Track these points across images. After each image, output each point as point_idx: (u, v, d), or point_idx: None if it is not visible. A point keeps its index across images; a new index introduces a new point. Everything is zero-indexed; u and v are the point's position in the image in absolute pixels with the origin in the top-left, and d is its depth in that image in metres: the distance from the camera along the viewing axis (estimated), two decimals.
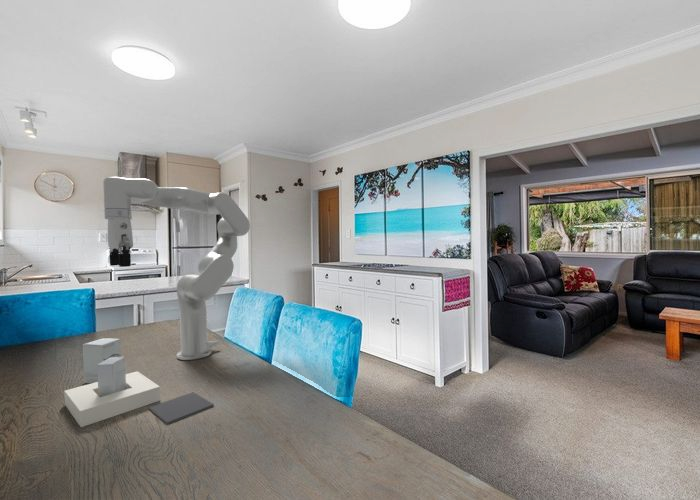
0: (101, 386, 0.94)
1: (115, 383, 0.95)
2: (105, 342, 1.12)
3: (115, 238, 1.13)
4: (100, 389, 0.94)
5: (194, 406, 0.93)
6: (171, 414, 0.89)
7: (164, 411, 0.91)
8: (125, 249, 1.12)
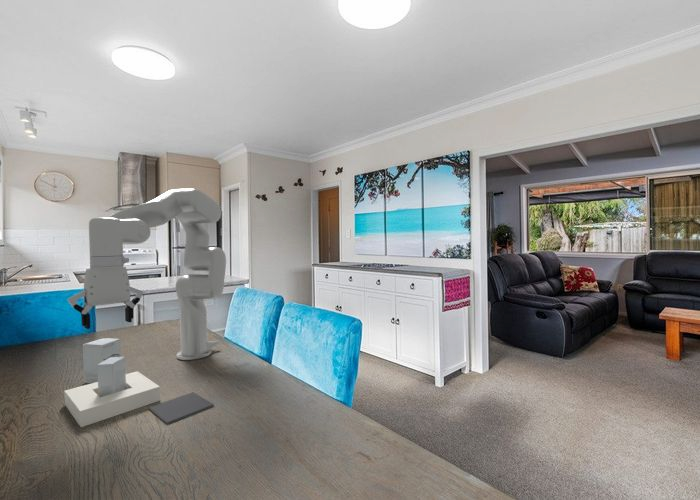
0: (101, 386, 0.94)
1: (115, 383, 0.95)
2: (105, 342, 1.12)
3: (126, 290, 0.97)
4: (100, 389, 0.94)
5: (194, 406, 0.93)
6: (171, 414, 0.89)
7: (164, 411, 0.91)
8: None
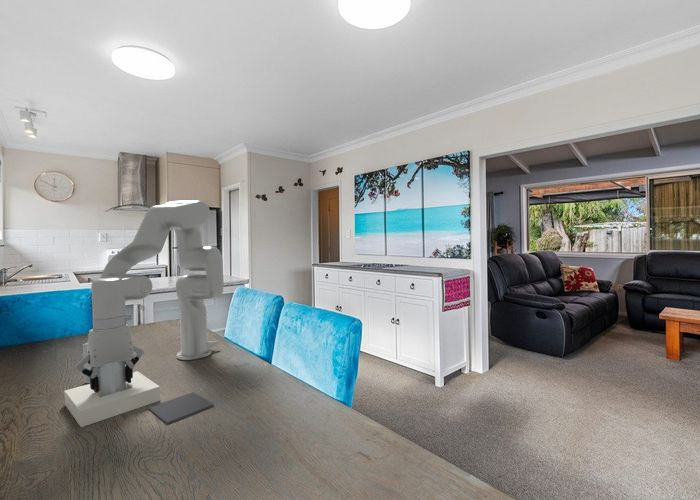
0: (100, 386, 0.94)
1: (115, 383, 0.95)
2: None
3: (129, 349, 0.98)
4: (100, 389, 0.94)
5: (194, 406, 0.93)
6: (171, 414, 0.89)
7: (164, 411, 0.91)
8: None
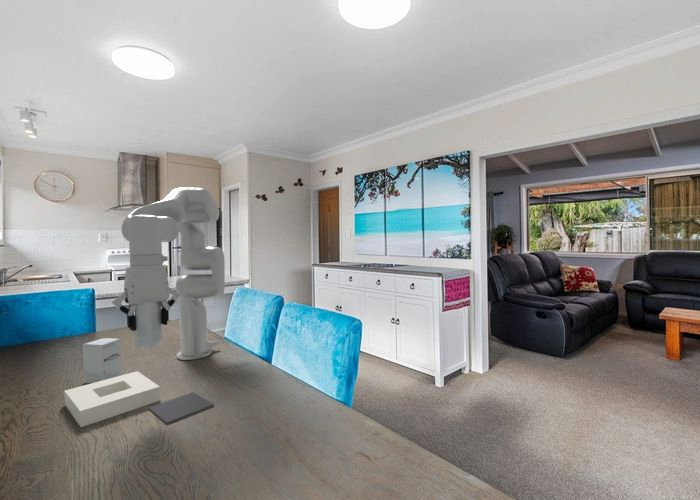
0: (137, 325, 0.91)
1: (152, 323, 0.92)
2: (105, 342, 1.12)
3: (165, 289, 0.95)
4: (137, 328, 0.91)
5: (194, 406, 0.93)
6: (171, 414, 0.89)
7: (164, 411, 0.91)
8: None
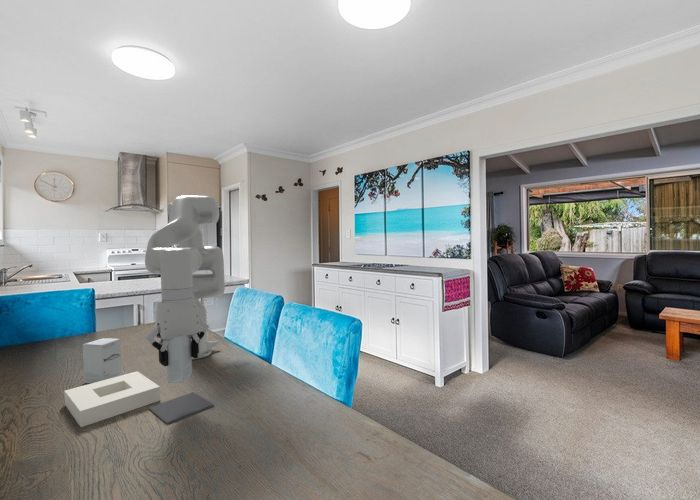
0: (170, 360, 0.90)
1: (184, 358, 0.91)
2: (105, 342, 1.12)
3: (196, 322, 0.94)
4: (169, 363, 0.90)
5: (194, 406, 0.93)
6: (171, 414, 0.89)
7: (164, 411, 0.91)
8: None
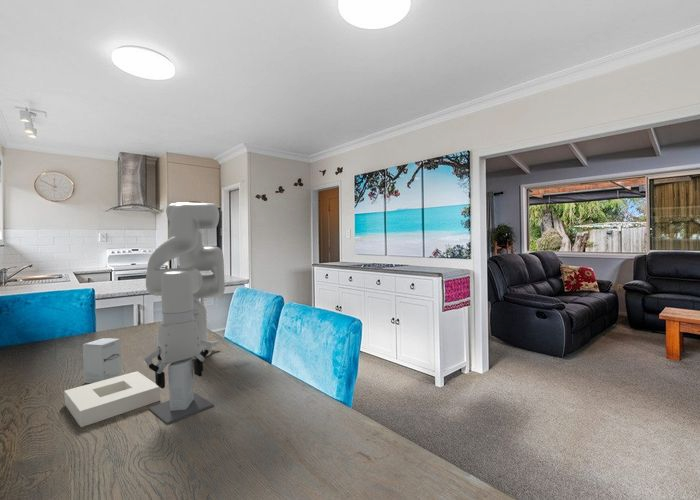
0: (172, 388, 0.91)
1: (186, 385, 0.92)
2: (105, 342, 1.12)
3: (197, 344, 0.94)
4: (171, 391, 0.91)
5: (194, 406, 0.93)
6: (171, 414, 0.89)
7: (164, 411, 0.91)
8: None
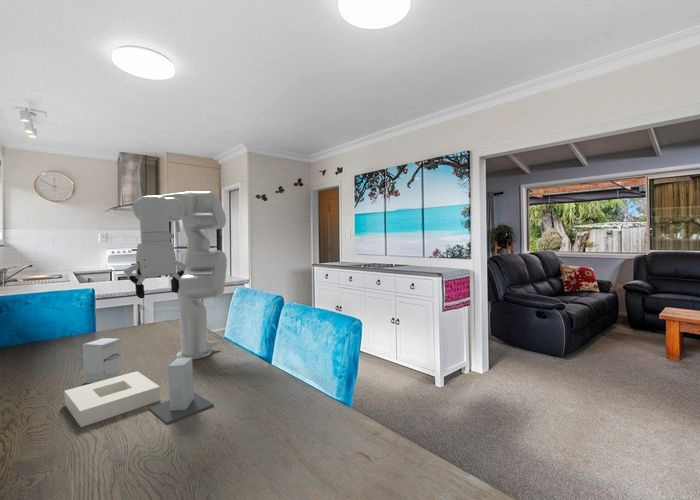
0: (172, 388, 0.91)
1: (186, 385, 0.92)
2: (105, 342, 1.12)
3: (173, 263, 1.06)
4: (171, 391, 0.91)
5: (194, 406, 0.93)
6: (171, 414, 0.89)
7: (164, 411, 0.91)
8: None
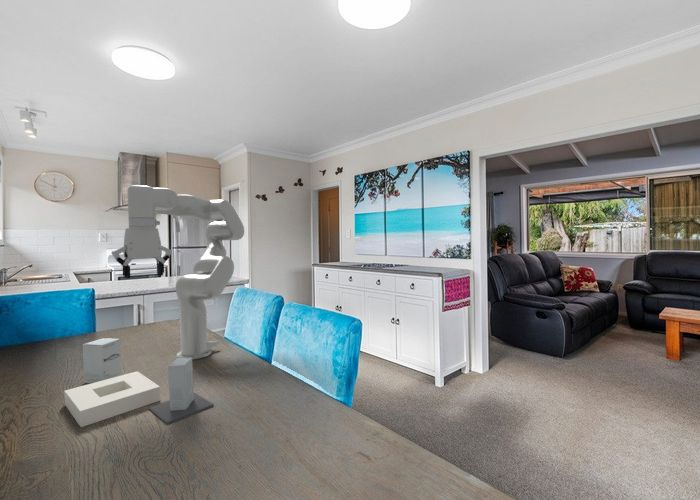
0: (172, 388, 0.91)
1: (186, 385, 0.92)
2: (105, 342, 1.12)
3: (158, 248, 1.15)
4: (171, 391, 0.91)
5: (194, 406, 0.93)
6: (171, 414, 0.89)
7: (164, 411, 0.91)
8: None
